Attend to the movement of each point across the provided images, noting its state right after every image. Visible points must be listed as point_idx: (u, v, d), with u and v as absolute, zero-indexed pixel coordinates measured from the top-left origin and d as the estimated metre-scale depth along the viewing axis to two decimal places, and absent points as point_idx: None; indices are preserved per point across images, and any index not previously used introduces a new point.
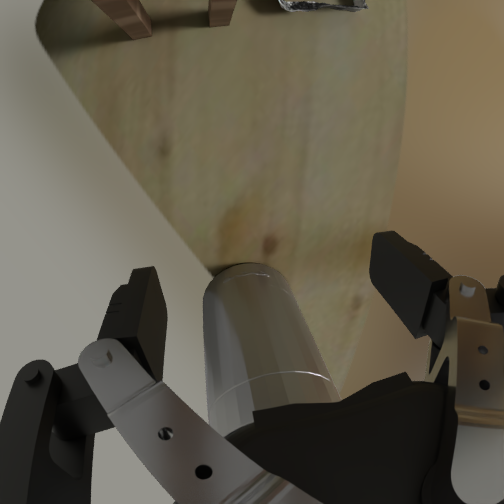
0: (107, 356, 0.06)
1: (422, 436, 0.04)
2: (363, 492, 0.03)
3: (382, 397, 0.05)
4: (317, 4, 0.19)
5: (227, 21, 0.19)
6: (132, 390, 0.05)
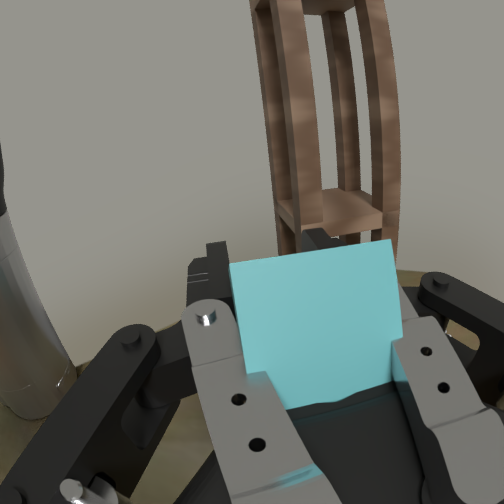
0: (212, 316, 0.07)
1: (397, 459, 0.04)
2: (363, 492, 0.03)
3: (382, 397, 0.05)
4: None
5: None
6: None
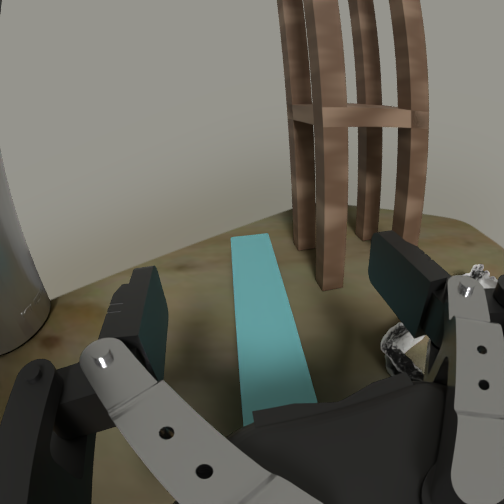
0: (109, 355, 0.06)
1: (421, 436, 0.04)
2: (363, 492, 0.03)
3: (383, 397, 0.05)
4: (419, 375, 0.12)
5: (322, 274, 0.22)
6: (134, 389, 0.05)
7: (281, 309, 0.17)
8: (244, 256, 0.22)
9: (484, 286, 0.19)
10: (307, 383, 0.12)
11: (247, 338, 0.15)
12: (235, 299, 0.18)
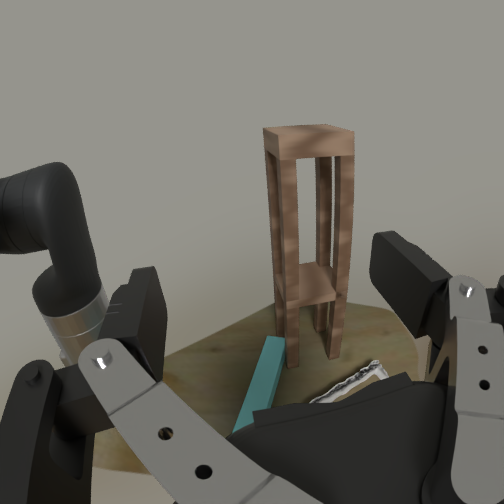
0: (107, 356, 0.06)
1: (422, 436, 0.04)
2: (363, 492, 0.03)
3: (382, 398, 0.05)
4: None
5: (287, 362, 0.43)
6: (132, 390, 0.05)
7: (268, 388, 0.38)
8: (268, 352, 0.43)
9: (378, 371, 0.40)
10: None
11: (249, 397, 0.36)
12: (253, 377, 0.39)
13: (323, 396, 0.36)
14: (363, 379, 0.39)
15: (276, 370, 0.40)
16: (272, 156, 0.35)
